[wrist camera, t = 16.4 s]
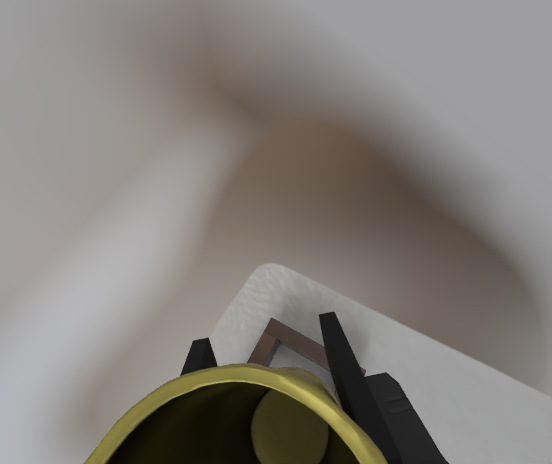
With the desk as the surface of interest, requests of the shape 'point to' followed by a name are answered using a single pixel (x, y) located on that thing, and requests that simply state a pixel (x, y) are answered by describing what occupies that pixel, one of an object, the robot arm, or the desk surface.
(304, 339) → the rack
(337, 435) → the vase
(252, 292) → the desk surface
